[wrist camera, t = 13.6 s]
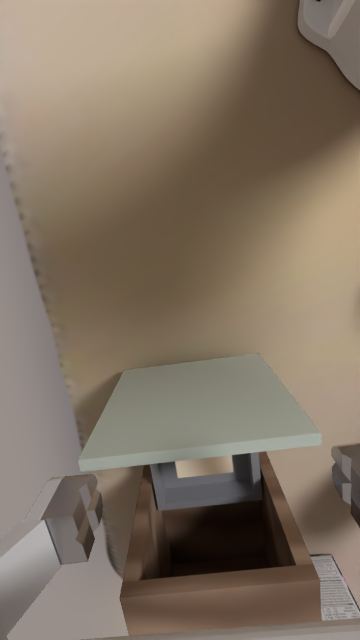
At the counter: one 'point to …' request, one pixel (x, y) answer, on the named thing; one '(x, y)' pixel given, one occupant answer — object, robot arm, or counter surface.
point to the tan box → (217, 564)
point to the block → (204, 466)
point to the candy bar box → (334, 590)
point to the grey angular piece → (199, 427)
